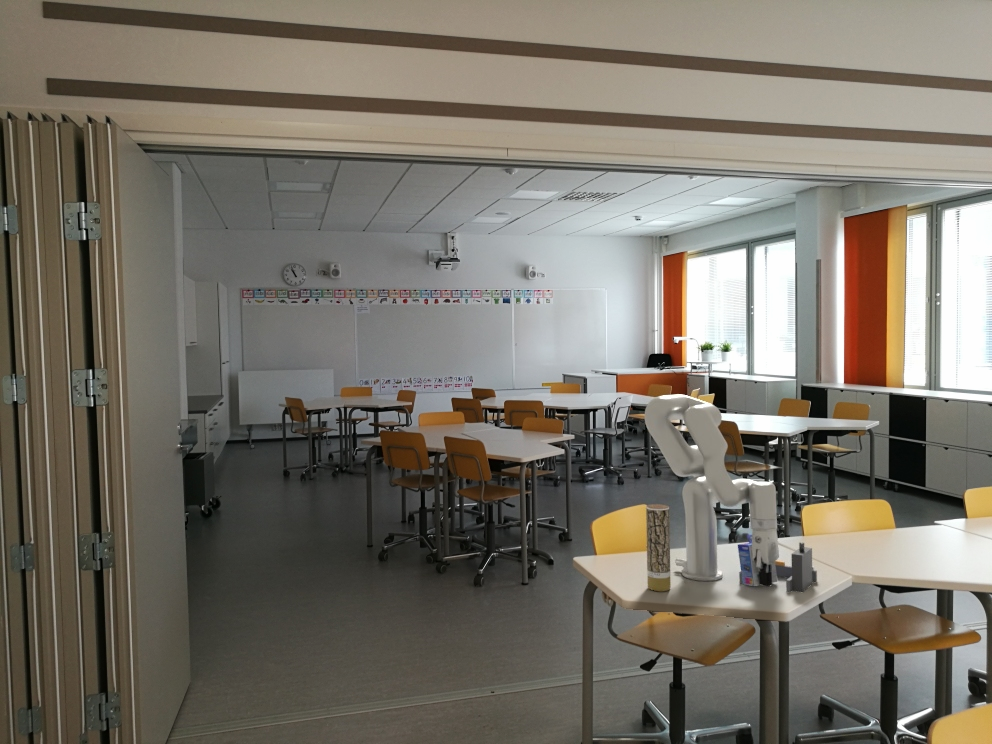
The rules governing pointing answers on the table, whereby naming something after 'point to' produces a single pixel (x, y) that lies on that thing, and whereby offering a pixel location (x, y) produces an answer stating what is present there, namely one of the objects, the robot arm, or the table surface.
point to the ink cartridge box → (751, 565)
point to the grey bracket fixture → (796, 570)
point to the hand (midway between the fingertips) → (765, 584)
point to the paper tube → (658, 547)
